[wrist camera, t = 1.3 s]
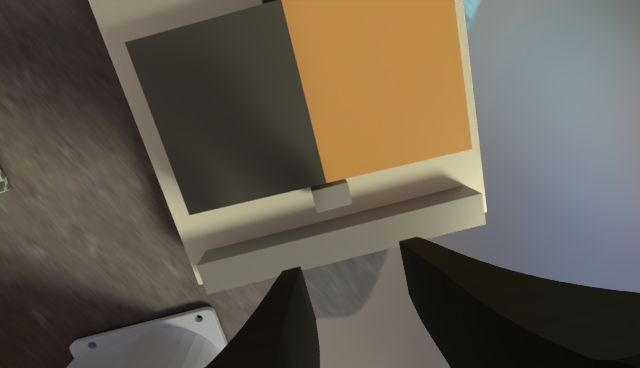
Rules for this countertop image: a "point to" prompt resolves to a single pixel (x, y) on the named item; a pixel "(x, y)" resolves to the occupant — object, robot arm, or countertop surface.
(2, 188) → the syrup box
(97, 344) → the robot arm
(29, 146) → the countertop surface
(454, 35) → the breaker rocker
